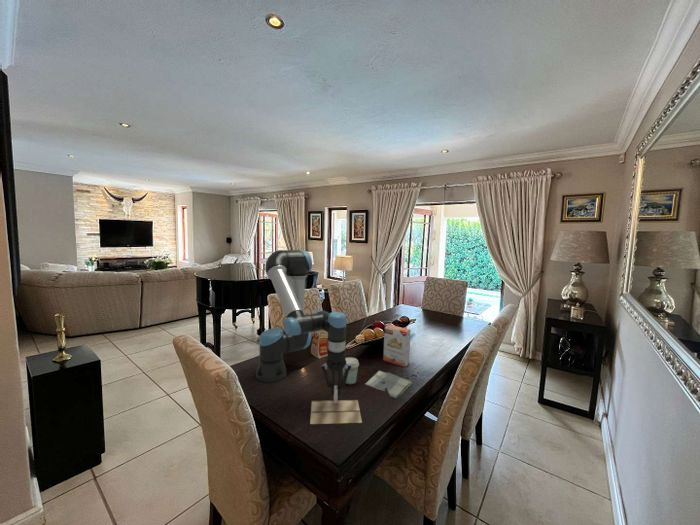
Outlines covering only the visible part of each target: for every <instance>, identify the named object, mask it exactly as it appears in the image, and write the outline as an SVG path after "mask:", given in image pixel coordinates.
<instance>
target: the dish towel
mask: <svg viewBox="0 0 700 525" xmlns="http://www.w3.org/2000/svg"><path fill="white" fill-rule="evenodd" d="M364 384H365V385H367V386H368V387H372V388H374V389H377V390H379V391H383V392H386V391H387V392H388V395H389V398H391V399H394V400H397V399H398V398H399V397H401V396H402V394H403V393H405V392H404V391H405V390H406V389H407V390H408V389H409V388H410V386H411V385H412V384H413V382H412V381H411V380H409V379H406V378H403V377H400V376H398V375H396V374H393V373H391V372H384V371H381V370H378V371H377V372H376V373H375V374H374V375H373V376H372V377H371V378H370V379H368V381H367V382H366V383H364ZM408 387H409V388H408ZM385 389H386V390H385ZM407 390H406V391H407Z"/></svg>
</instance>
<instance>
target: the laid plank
mask: <svg viewBox="0 0 700 525" xmlns="http://www.w3.org/2000/svg"><path fill="white" fill-rule="evenodd" d="M309 421H310V422H309V424H310V425H326V424H327V425H328V424H329V425H332V424H333V425H334V424H361V423H363V421H362V415H361V410H356V411H317V412H311V411H310V420H309Z"/></svg>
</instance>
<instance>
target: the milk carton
mask: <svg viewBox="0 0 700 525" xmlns="http://www.w3.org/2000/svg"><path fill="white" fill-rule="evenodd" d="M310 354H311V355H313V356H314V357H315V358H318V359H321V358H324V357H328V332H326V331H324V330H319V331H314V332H313V336H312V340H311V348H310Z"/></svg>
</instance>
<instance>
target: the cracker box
mask: <svg viewBox="0 0 700 525" xmlns="http://www.w3.org/2000/svg"><path fill="white" fill-rule="evenodd" d="M383 338H384V339H383V355H382V356H383V359H382V360H383V361H384V362H387V363H389V364H390V363H391V364H394V365H397V366H400V367H404V368H406V367H407V366H408V365H409V364H410V363H409V362H410V347H411V329H410V328H409V329H408V328H404V327H401V326H397V325H392V324H388V325H385V327H384V337H383Z"/></svg>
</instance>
